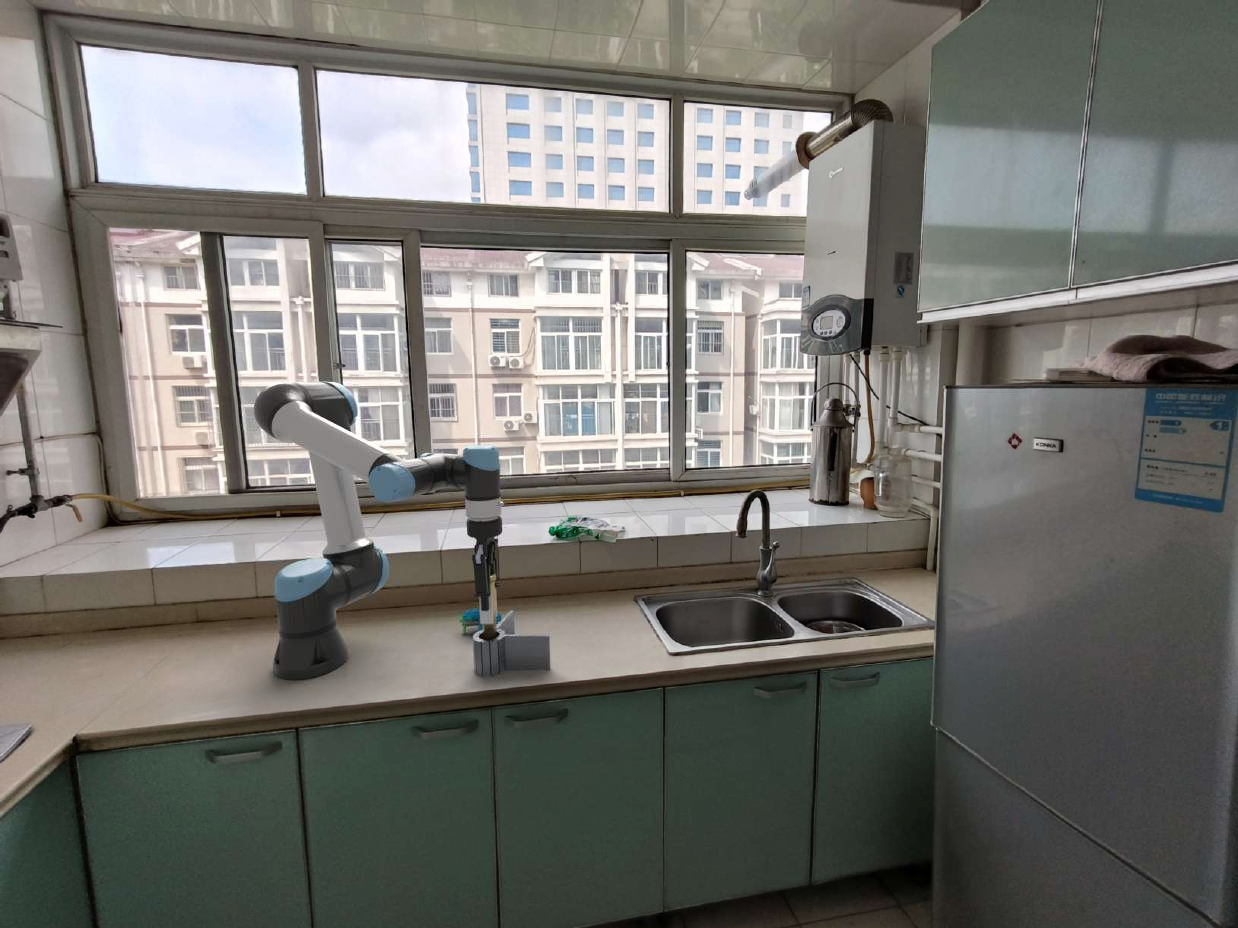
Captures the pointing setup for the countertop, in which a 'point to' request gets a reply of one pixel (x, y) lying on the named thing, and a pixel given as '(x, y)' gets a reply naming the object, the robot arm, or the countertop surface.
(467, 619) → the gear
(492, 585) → the pin
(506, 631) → the hinge leaf swing
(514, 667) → the hinge leaf fixed
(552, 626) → the countertop surface
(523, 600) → the countertop surface
